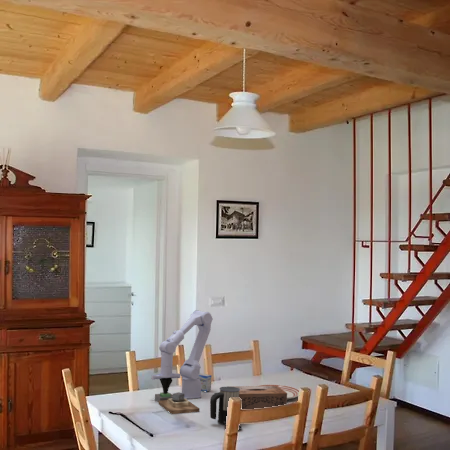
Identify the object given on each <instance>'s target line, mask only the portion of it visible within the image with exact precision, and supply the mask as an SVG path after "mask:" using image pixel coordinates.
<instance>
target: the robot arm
mask: <svg viewBox="0 0 450 450" xmlns="http://www.w3.org/2000/svg"><path fill="white" fill-rule="evenodd" d="M212 322H213V316H212V314H211V312H209V311H204V310H203V311H202V310H197V309H196V310H194V311H193V312H192V313H191V314H190V316H189V318H188V319H187V321H186V322H185V323H184V324H183V325H182V326H181V328H180V329H179V330H177V329H176V330H173V332H172V334H171V335H170V336H169V337H167V338H166V340H164V341H162V342H161V343H160V345H159V346H158V347H159V351H160V355H161V358H160V373H158V374H157V373H156V374H151V380H152V381H153V380H154V381H155V380H159V381H160V384H161V387H162V392H163V393H164V394H167V393H169V390H170V389H169V388H170V386H171V384H172V383H173V379H181V393H183V394H185V396H184V398H185V399H187V400H188V399H199V398H200V399H201V398H202V396H201V395H202V394H201V393H202V392H201V381H200V379H197V378H198V377H199V374H201V372H200V371H201V365H200V359H201V357H202V354H203V352H204V349H205V346H206V344H207V340H208V339H209V338H208V337H209V336H210V332H211V329H212V327H211V325H212ZM195 326H197V328H198V330H199V331H198V333H197V335H196V338H195V341H194V342H193V343H194V344H193V346H192V349H191V352H190V353H189V356H188V358H187V359H186V360H185V361H184V362H183V364H182V365H181V366H180V368H179V373H173V363H174V361H173V359H174V353H175V352H176V349H177V347H178V345H179V344H181V342H182V341H183V340H184V339H185V335H186V334H187V333H188V332H189V331H191V329H193V328H194V327H195Z"/></svg>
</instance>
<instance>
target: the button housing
mask: <svg viewBox="0 0 450 450" xmlns="http://www.w3.org/2000/svg"><path fill="white" fill-rule="evenodd" d="M169 393H170V397H161V396H160V393H155V394H154V400H155V401H156V402H158V403H159V401H163V400H168V399H171V398H173V393H171V392H169Z"/></svg>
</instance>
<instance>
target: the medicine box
mask: <svg viewBox="0 0 450 450" xmlns="http://www.w3.org/2000/svg"><path fill="white" fill-rule="evenodd" d="M212 376H213V375H211V374H206V373H200V374H199V377H198V378H197V379H200V381H201V391H206V392H205V393H208V392H207V391H210V390H211V391H212ZM211 391H210V392H211Z"/></svg>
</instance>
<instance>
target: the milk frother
mask: <svg viewBox="0 0 450 450" xmlns="http://www.w3.org/2000/svg"><path fill="white" fill-rule="evenodd" d="M239 391H240V389H239V388H236V387H227V386H221V387H219V392H215V393H213V394H212V395H211V397H210V400H209V401H210V402H209V407H210V408H209V411H210V413H209V414H210V418H211V420H216V419H217V423H218V424H220V425H224V426H226V425H225V424H226V416H227V407H228V401H229V398H230V397H239ZM217 402H218V414H217ZM217 415H218V416H217ZM242 428H243V427H242V425H240V426H239V429H242Z"/></svg>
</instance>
